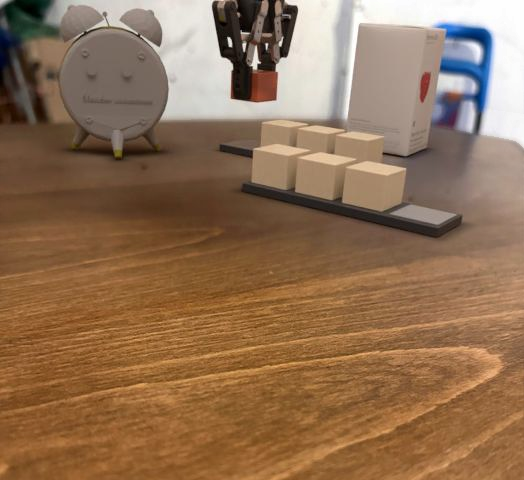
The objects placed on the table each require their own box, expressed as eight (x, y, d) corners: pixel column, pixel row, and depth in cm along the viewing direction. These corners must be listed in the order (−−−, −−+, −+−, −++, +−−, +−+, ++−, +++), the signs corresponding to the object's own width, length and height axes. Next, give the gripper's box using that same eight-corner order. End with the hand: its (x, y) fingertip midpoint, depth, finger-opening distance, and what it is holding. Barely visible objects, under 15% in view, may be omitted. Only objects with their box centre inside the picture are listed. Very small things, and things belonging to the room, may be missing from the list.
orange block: (250, 96, 82) (251, 68, 81) (276, 100, 80) (278, 71, 79) (230, 99, 79) (231, 69, 78) (257, 102, 77) (258, 72, 76)
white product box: (407, 158, 84) (427, 27, 78) (342, 147, 88) (356, 22, 81) (428, 148, 92) (449, 27, 85) (368, 139, 95) (382, 23, 89)
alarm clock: (165, 149, 81) (164, 9, 74) (171, 161, 75) (170, 10, 68) (65, 147, 78) (54, 2, 71) (62, 159, 72) (51, 3, 65)
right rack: (274, 182, 69) (277, 142, 67) (461, 223, 59) (470, 178, 57) (241, 191, 64) (243, 148, 63) (436, 237, 55) (445, 188, 53)
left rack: (246, 145, 86) (248, 112, 84) (387, 172, 76) (392, 136, 74) (219, 150, 82) (220, 116, 80) (364, 180, 72) (369, 142, 70)
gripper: (249, -80, 65) (243, 106, 73) (324, -64, 75) (311, 97, 83) (190, -78, 69) (190, 99, 76) (269, -63, 79) (262, 91, 87)
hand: (253, 97), depth 80 cm, fingers closed on orange block, 4 cm apart
